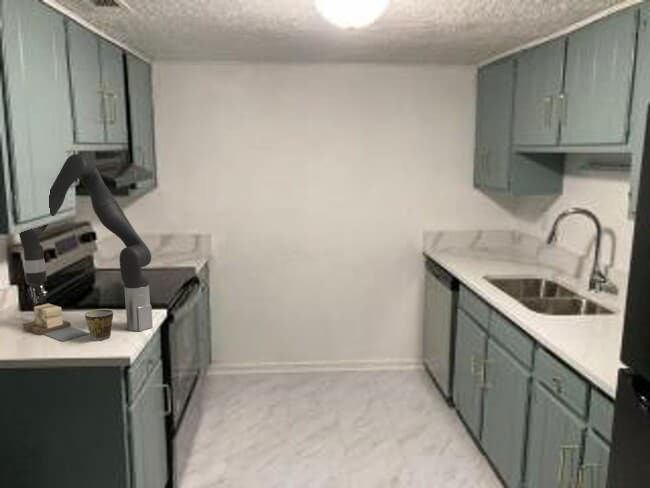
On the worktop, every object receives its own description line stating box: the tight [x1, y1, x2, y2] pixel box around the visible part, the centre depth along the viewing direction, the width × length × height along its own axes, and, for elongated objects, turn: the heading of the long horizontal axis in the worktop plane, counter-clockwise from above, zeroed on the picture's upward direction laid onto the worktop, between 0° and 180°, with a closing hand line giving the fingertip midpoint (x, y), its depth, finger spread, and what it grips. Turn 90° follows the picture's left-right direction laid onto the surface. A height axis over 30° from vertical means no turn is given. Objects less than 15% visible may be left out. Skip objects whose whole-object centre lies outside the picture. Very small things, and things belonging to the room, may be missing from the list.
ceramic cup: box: [84, 308, 114, 342], centre depth 207 cm, size 13×10×10 cm
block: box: [33, 303, 63, 328], centre depth 219 cm, size 10×6×7 cm, turn 53°
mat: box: [43, 326, 90, 342], centre depth 214 cm, size 14×11×1 cm
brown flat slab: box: [22, 319, 72, 336], centre depth 221 cm, size 14×12×2 cm
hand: (39, 311), depth 224 cm, fingers closed
